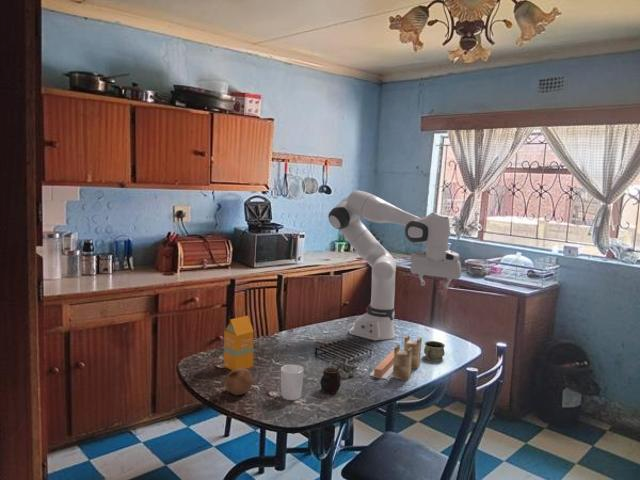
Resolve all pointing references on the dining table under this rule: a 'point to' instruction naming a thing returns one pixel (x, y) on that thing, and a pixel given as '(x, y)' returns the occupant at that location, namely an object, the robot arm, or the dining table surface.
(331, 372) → the mate gourd
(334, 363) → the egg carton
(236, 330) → the orange juice
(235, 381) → the onion
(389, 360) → the rail
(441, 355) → the vessel
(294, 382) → the white cup
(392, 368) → the mat
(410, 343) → the post far
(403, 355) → the post near
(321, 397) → the dining table surface
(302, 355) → the dining table surface
